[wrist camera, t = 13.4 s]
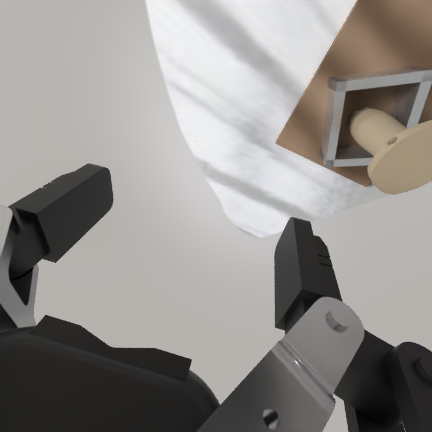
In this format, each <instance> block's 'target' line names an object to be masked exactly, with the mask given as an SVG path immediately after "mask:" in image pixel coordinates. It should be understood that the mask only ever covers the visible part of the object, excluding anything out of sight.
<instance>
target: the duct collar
mask: <svg viewBox="0 0 432 432" xmlns="http://www.w3.org/2000/svg"><path fill="white" fill-rule="evenodd" d="M431 84H432V69H431V68H423V67H415V66H410V67H403V68H396V69H388V70H381V71H374V72H366V73H359V74H352V75H344V76H337V77H330V78H329V79H328V87H327V96H326V104H325V112H324V121H323V129H322V137H321V146H320V156H321V158H322V161H323V163H324V165H325V167H344V166H365V165H369V164H370V162H371V160H372V159H373V157H374V156H373V155H372V154H371V153H369V152H368V151H367V150H365V149H364V148H363V147H361V146H360V145H348V146H337V143H338V137H339V131H340V124H341V118H342V112H343V106H344V100H345V93H346V91H351V90H360V89H368V88H376V87H384V86H393V85H398V86H397V89H396V93H395V97H394V100H393V104H392V108H391V111H390V115H391V116H392V117H393V118H395V119H396V120H397V121H398V122H400V123H401V124H402V125H404V126H405V127H406V128H410V127H412V126H415V125H417V124H418V122H419V119H420V116H421V113H422V110H423V107H424V104H425V101H426V98H427V95H428V93H429V90H430V87H431Z"/></svg>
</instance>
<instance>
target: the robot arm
mask: <svg viewBox="0 0 432 432" xmlns="http://www.w3.org/2000/svg"><path fill="white" fill-rule="evenodd" d="M112 204H113V191H112V183H111V175H110V171H109V169H108V168H105V167H101V166H98V165H94V164H86V165H85V166H83V167H81V168H80V169H78V170H76V171H74V172H71V173H68V174H65V175H61V176H60V177H58V178H56V179H55V180H53V181H51V183H48V184H46V185H44V186H43V188H39V189H37V190H36V191H34V192H32V193H31V194H29V195H27V196H26V197H24V198H22V199H21V200H19V201H17V202H15V203H14V204H12V205H10V206H8V207H6V206H2V205H0V432H322V431H323V429H324V427H325V426H326V423H327V422H328V420H329V418H330V416H331V414H332V412H333V410H334V406H335V399H334V398H333V397H332V396H333V394H335V395H336V396H338V397H339V398H341V399H342V400H344V405H345V411H346V418H347V424H348V431H349V432H405V431H406V432H432V352H431V351H430V350H428V349H426V348H425V347H423V346H421V345H419V344H416V343H413V342H403V343H401V344H400V345H398V346H397V347H394V346H392V345H390V344H388V343H387V342H385V341H383V340H381V339H380V338H378V337H376V336H374V335H373V334H371V333H369V332H368V331H366V330H364V328H363V325H362V323H361V320H360V319H359V317H358V316H357V315H356V313H355V312H354V311H353V310H352V309H351V308H350V307H349V306H348V305H346V304H345V303H343V302H342V298H341V295H340V291H339V288H338V284H337V280H336V277H335V274H334V270H333V268H332V263H331V259H330V256H329V252H328V249H327V246H326V245H325V243H324V242H323V241H322V239H321V238H320V237H318V236H315V235H313V231H312V227H311V223H310V222H309V221H305V220H302V219H298V218H294V217H291V218H290V219H289V221H288V223H287V225H286V227H285V229H284V231H283V233H282V235H281V237H280V239H279V241H278V243H277V246H276V250H275V256H274V259H275V327H276V328H278V329H282V330H285V336H284V337H283V338H282V339H281V341H279V342H278V343H277V344H276V345H275V346H274V347H273V348H272V349H271V350H270V351H269V352H268V353H267V355H266V356H265V357H264V358H263V359H262V360H261V361H260V363H258V364H257V366H256V367H255V368H254V369H253V370H252V371H251V372H250V373H249V374H248V375H247V376H246V378H245V379H244V380H243V381H242V382H241V383H240V384H239V385H238V387H236V389H235V390H234V391H233V392H232V393H231V394H230V395H229V396H228V397H227V398H226V400H225V401H224V402H223V403H222V404H221V405H220V404H219V402H218V400H217V398H216V397H215V395H214V394H213V392H212V390H211V389H210V388H209V387H208V386H207V384H206V383H205V382H204V381H203V380H202V379H201V378H200V377H199V376H197V375H196V374H195V373H193V372H192V371H191V370H189V368H190V365H191V361H192V360H191V359H189V358H185V357H182V356H178V355H175V354H172V353H169V352H166V351H162V350H159V349H156V348H113V347H110V346H108V345H107V344H106V343H104V342H103V341H101V340H100V339H99V338H97V337H96V336H94V335H93V334H92V333H90V332H88V331H87V330H86V329H85V328H83V327H82V326H80V325H77V324H74V323H71V322H67V321H64V320H60V319H57V318H54V317H51V316H48V315H45V316H44V317H43V319H42V320H41V321H40V322H39V323H38V325H36V323H35V319H34V303H35V294H36V287H37V278H38V270H39V268H38V265H37V263H38V262H39V261H40V260H41V259H45V260H48V261H51V262H55V263H56V262H57V261H58V260H59V259H60V258H61V257H62V256H63V255H64V254H65V253H66V252H67V251H68V250H69V249H70V248H71V247H72V246H73V245H74V244H75V243H76V242H78V241H79V240H80V239H81V238H82V237H83V236H84V235H85V234H86V233H87V232H88V231H89V230H90V229H91V228H92V227H93V226H94V225H95V224H96V223H97V222H98V221H99V220H100V219H101V218H102V217H103V216H104V215H105V214H106V213H107V212H108V211H109V210H110V209H111V207H112ZM403 425H404V427H403ZM404 428H405V430H404Z"/></svg>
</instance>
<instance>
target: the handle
mask: <svg viewBox="0 0 432 432" xmlns="http://www.w3.org/2000/svg"><path fill="white" fill-rule="evenodd" d="M347 126H348V129H350V132H351V135H352V136H353V138H354V140H355V141H356V142H357V143H358V144H359V145H360V146H361V147H363V148H364V149H365V150H367V151H368V152H369V153H371V154H372V155H373V156H374V157H373V159H372V160H371V162H370V164H369V166H368V176H369V178H370V179H371V181H372V182H373V184H374V185H375V186H376V187H377V188H378V189H379V190H381V191H382V192H384V193H388V194H398V193H402V192H406V191H409V190H413V189H416V188H418V187H420V186H422V185H424V184H426V183H428V182H429V181H431V180H432V120H430V121H426V122H423V123H420V124H418V125H415V126H412V127H410V128H406V127H405V126H404V125H402V124H401V123H400V122H398V121H397V120H396V119H395V118H393V117H392V116H391V115H389V114H387V113H385V112H383V111H380V110H377V109H372V108H369V107H365V108H363V109H361V110H358V111H354V112H352V113H351V118H350V121H349V122H348V123H347Z"/></svg>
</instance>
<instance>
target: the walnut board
mask: <svg viewBox="0 0 432 432" xmlns="http://www.w3.org/2000/svg"><path fill="white" fill-rule="evenodd" d="M410 66H415V67H423V68H431V69H432V0H357V2H356V4H355V5H354V7H353V9H352V11H351V12H350V14H349V16H348V17H347V19H346V21H345V23H344V24H343V26H342V28H341V30H340V31H339V33H338V35H337V37H336V38H335V40H334V42H333V43H332V45H331V47H330V49H329V50H328V52H327V54H326V56H325V57H324V59H323V61H322V62H321V64H320V66H319V68H318V69H317V71H316V73H315V75H314V76H313V78H312V80H311V82H310V83H309V85H308V87H307V88H306V90H305V92H304V94H303V95H302V97H301V99H300V101H299V102H298V104H297V106H296V107H295V109H294V111H293V113H292V114H291V116H290V118H289V120H288V121H287V123H286V125H285V127H284V128H283V130H282V132H281V133H280V135H279V137H278V139H277V140H276V144H278V145H280V146H282V147H284V148H286V149H288V150H290V151H292V152H294V153H296V154H299V155H301V156H303V157H305V158H307V159H309V160H311V161H313V162H315V163H317V164H319V165H321V166H323V167H325V165H324V163H323V161H322V158H321V156H320V146H321V137H322V129H323V121H324V112H325V104H326V96H327V87H328V79H329V78H330V77H337V76H344V75H352V74H359V73H366V72H374V71H381V70H388V69H396V68H403V67H410ZM397 86H398V85H393V86H384V87H376V88H368V89H360V90H351V91H346V93H345V100H344V106H343V112H342V118H341V124H340V131H339V137H338V143H337V146H348V145H359V144H358V143H357V142H356V141H355V140H354V138H353V136H352V135H351V132H350V129H348V126H347V123H348V122H349V121H350V118H351V113H352V112H354V111H358V110H361V109H363V108H365V107H369V108H372V109H377V110H380V111H383V112H385V113H387V114H389V115H390V111H391V108H392V104H393V100H394V97H395V93H396V89H397ZM430 120H432V84H431V87H430V90H429V93H428V95H427V98H426V101H425V104H424V107H423V110H422V113H421V116H420V119H419V122H418V124H420V123H423V122H426V121H430ZM418 124H417V125H418ZM368 166H369V165H365V166H344V167H326V168H328V169H330V170H332V171H334V172H336V173H338V174H340V175H342V176H344V177H346V178H348V179H350V180H353V181H355V182H357V183H359V184H361V185H363V186H365V187H366V186H367V185H368V184H369V183H370V182H371V179H370V178H369V176H368Z"/></svg>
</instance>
